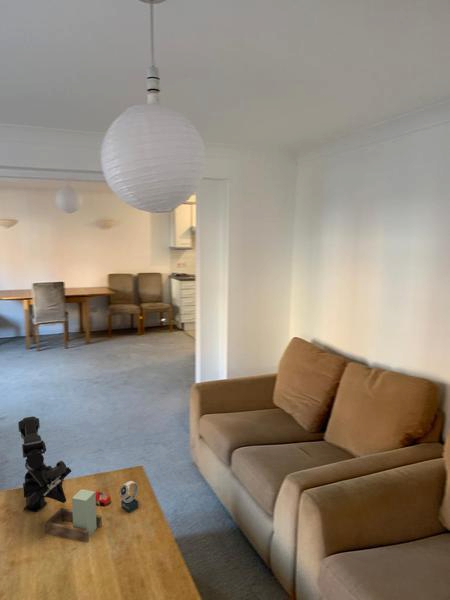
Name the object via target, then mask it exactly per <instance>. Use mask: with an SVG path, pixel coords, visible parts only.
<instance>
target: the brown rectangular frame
mask: <svg viewBox="0 0 450 600" xmlns="http://www.w3.org/2000/svg"><path fill="white" fill-rule="evenodd" d="M102 520H103V519H102V515H99V514H96V523H97V528H101V527H102V526H103V522H102ZM62 521H69V522H72V523H73V510H72V509H68V508H64V507H61V508H60V509H59V510H58V511H57V512H55V513H54V515H52V516H51V517H50V518H49V519H48V520H47V521H46V522H44V533H45V534H47V535H52V536H56V537H60V538H65V539H69V540H73V541H79V542H83V543H88V542H89V541H90V538H89V537H90V536H89V530H85V529H80V528H75V527H73V526H71V525H65V524H60V523H61V522H62Z"/></svg>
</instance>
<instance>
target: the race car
mask: <svg viewBox="0 0 450 600" xmlns="http://www.w3.org/2000/svg"><path fill="white" fill-rule="evenodd" d="M93 491H94V492H95V496H96V506H100V507H105V506H108V505H109V504H110V503H111V500H112V499H111V496H110V495H109V494H105V493H103V492H101V491H97V490H93Z"/></svg>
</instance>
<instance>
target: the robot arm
mask: <svg viewBox="0 0 450 600" xmlns="http://www.w3.org/2000/svg"><path fill="white" fill-rule="evenodd" d="M40 426H41V425H40V418H37V416H33V415H32V416H27V417H24V418H22V419H21V420H19V421H18V433H20V438H22V440H23V444H21V449H22V450H21V452H22V458H23V459H25V458H26V459H25V466H24V468H25V469H26V470H27V472H25V475H24V482H23V483H22V489H23V490H22V493H23V498H25V502H26V504H25V506H24V507H23V510H25V511H30V512H34V513H35V512H36V513H38V512H39V511H40V510H41V509H42V508H44V506H45V505H46V504H48V502H47V501H46V500H45V499H46V498H49V499H53V500H54V501H57V502H60V503H63V504H65V503H66V502H67V498H66V495H65V494H66V493H64V489H63V484H64V483H63V482H64V481H65V478H66V477H67V476H68V475H69V474H71V473H72V470H71V468H70V467H67V465H66V463H65V462H64V461H63V460H60V461H58V462H56V464H55V466H53V467H52V466H51V465H48V466H47V465H46V463H45V462H44V461H45V460H44V459H45V457H44V456H43V455H45V453H46V452H47V447H46V442H45V440H42V436H41V435H40V434H39V429H40V428H41V427H40Z"/></svg>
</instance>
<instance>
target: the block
mask: <svg viewBox="0 0 450 600" xmlns="http://www.w3.org/2000/svg"><path fill="white" fill-rule="evenodd" d="M94 491H95V490H89V489H88V490H87V489H83V488H82V489H80V490H79V491H77V493H76V494H75V495H74V496H73V497H72V498H71V502H72V503H71V505H72V509H71V510H73V522H72V527H75V528H80V529H85V530H89V537H90V536H91V535H92V534H93V533H94V532H95V531H96V529H97V528H98V527H97V523H96V515H97V505H96V496H95V492H94Z"/></svg>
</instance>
